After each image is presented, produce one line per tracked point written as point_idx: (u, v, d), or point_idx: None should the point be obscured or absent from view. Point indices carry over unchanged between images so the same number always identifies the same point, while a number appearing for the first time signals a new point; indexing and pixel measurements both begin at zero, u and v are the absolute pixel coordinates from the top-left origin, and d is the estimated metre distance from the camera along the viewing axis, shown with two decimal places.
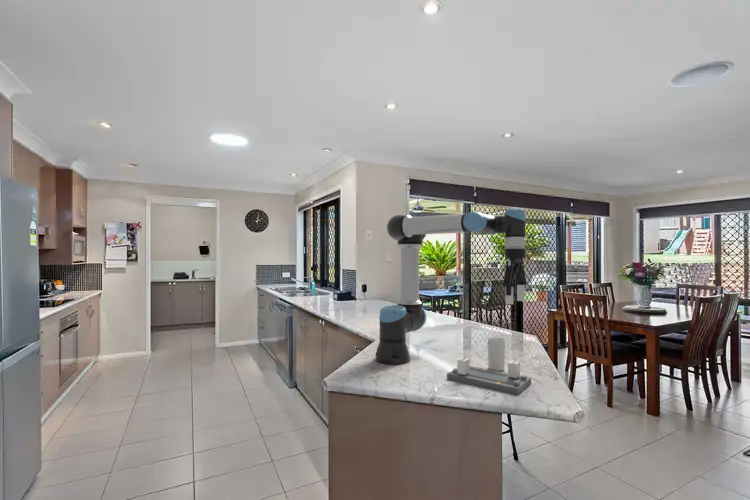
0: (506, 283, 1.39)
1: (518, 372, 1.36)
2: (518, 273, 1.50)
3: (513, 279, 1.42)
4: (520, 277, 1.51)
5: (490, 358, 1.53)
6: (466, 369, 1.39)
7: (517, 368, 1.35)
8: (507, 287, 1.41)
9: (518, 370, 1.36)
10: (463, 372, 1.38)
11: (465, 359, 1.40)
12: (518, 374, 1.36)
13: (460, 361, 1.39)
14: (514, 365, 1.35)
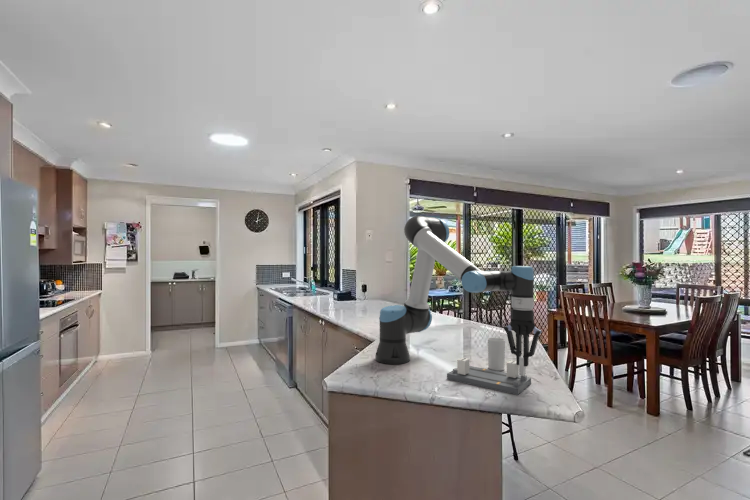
0: None
1: (517, 372, 1.36)
2: None
3: (518, 346, 1.35)
4: None
5: (490, 358, 1.53)
6: (466, 369, 1.39)
7: (515, 368, 1.35)
8: None
9: (517, 370, 1.36)
10: (463, 372, 1.38)
11: (465, 359, 1.40)
12: (517, 374, 1.36)
13: (460, 361, 1.39)
14: (512, 365, 1.35)
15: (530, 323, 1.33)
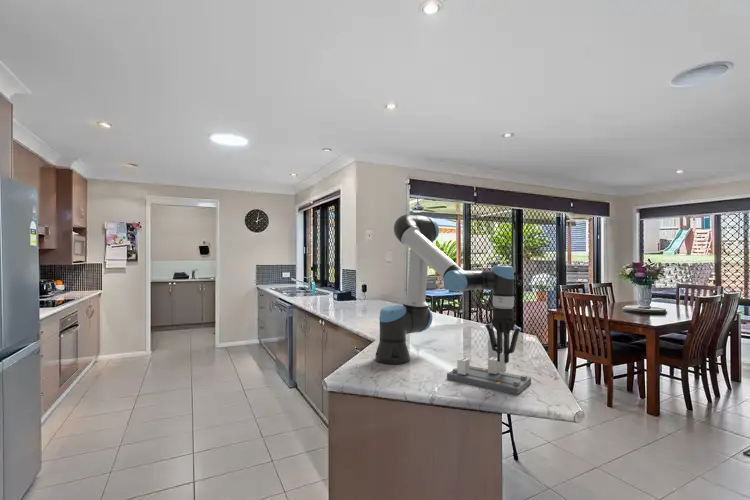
0: None
1: (498, 368, 1.41)
2: None
3: (499, 343, 1.39)
4: None
5: None
6: (466, 369, 1.39)
7: (496, 364, 1.39)
8: None
9: (498, 366, 1.41)
10: (463, 372, 1.38)
11: (465, 359, 1.40)
12: (498, 370, 1.41)
13: (460, 361, 1.39)
14: (493, 361, 1.39)
15: (510, 321, 1.37)
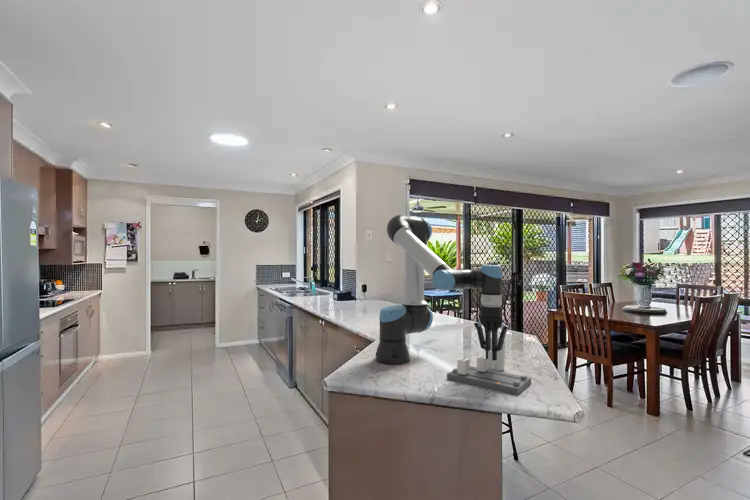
0: None
1: (486, 366, 1.43)
2: None
3: (487, 341, 1.42)
4: None
5: None
6: (466, 369, 1.39)
7: (485, 362, 1.42)
8: None
9: (486, 364, 1.43)
10: (463, 372, 1.38)
11: (465, 359, 1.40)
12: (486, 368, 1.43)
13: (460, 361, 1.39)
14: (482, 359, 1.42)
15: (498, 319, 1.40)
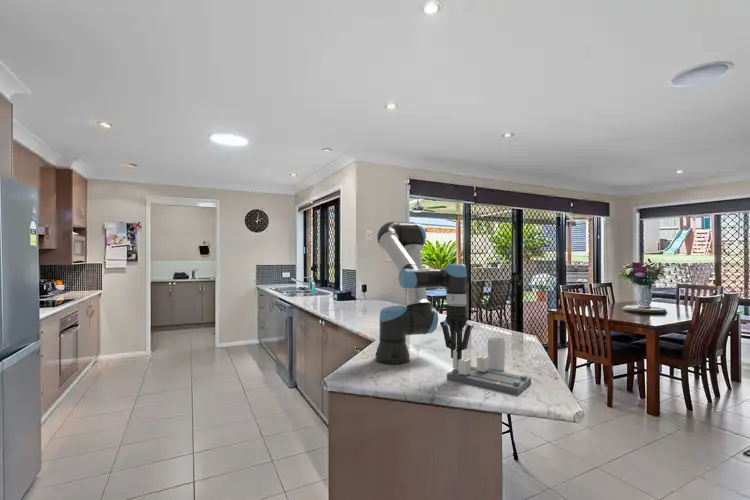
0: None
1: (486, 366, 1.43)
2: None
3: (452, 340, 1.42)
4: None
5: (490, 358, 1.53)
6: (467, 369, 1.38)
7: (485, 362, 1.42)
8: None
9: (486, 364, 1.43)
10: (464, 372, 1.38)
11: (466, 359, 1.40)
12: (486, 368, 1.43)
13: (461, 361, 1.39)
14: (482, 359, 1.42)
15: (462, 318, 1.40)
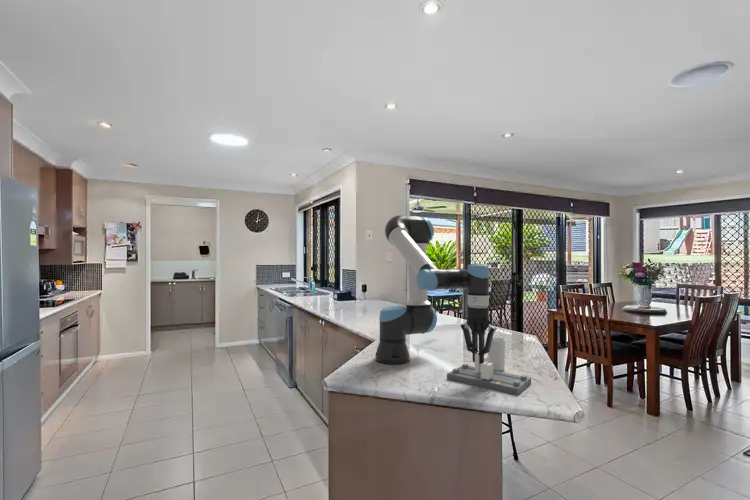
0: None
1: None
2: None
3: (473, 344, 1.37)
4: None
5: (490, 358, 1.53)
6: (490, 374, 1.33)
7: None
8: None
9: None
10: (487, 377, 1.32)
11: (489, 363, 1.35)
12: None
13: (484, 365, 1.33)
14: None
15: (485, 321, 1.34)
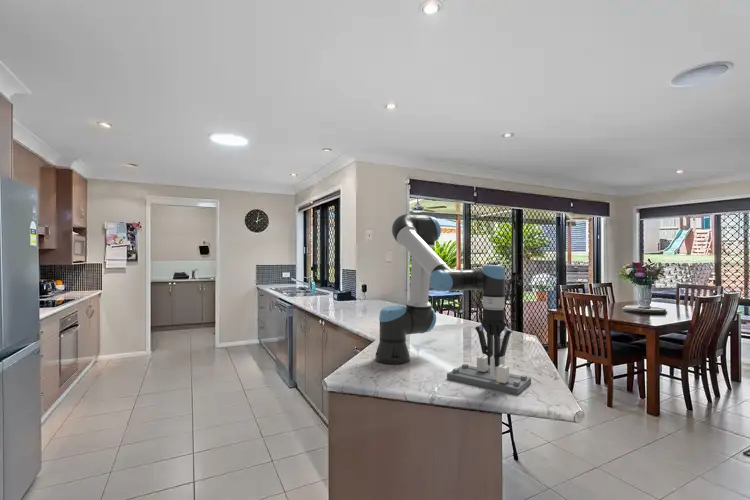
0: None
1: (486, 366, 1.43)
2: None
3: (489, 346, 1.33)
4: None
5: None
6: (506, 377, 1.29)
7: (485, 362, 1.42)
8: None
9: (486, 364, 1.43)
10: (503, 380, 1.29)
11: (505, 366, 1.31)
12: (486, 368, 1.43)
13: (500, 369, 1.30)
14: (482, 359, 1.42)
15: (501, 323, 1.31)
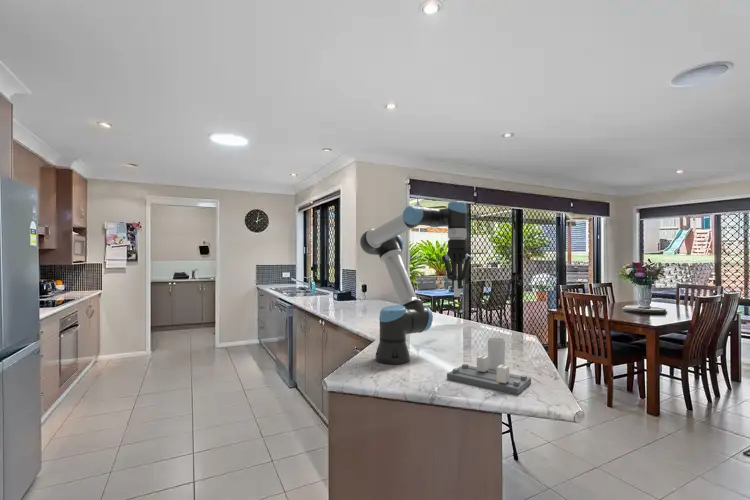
0: None
1: (486, 366, 1.43)
2: None
3: (453, 272, 1.54)
4: None
5: (490, 358, 1.53)
6: (506, 377, 1.29)
7: (485, 362, 1.42)
8: None
9: (486, 364, 1.43)
10: (503, 380, 1.29)
11: (505, 366, 1.31)
12: (486, 368, 1.43)
13: (500, 369, 1.30)
14: (482, 359, 1.42)
15: (462, 250, 1.52)
